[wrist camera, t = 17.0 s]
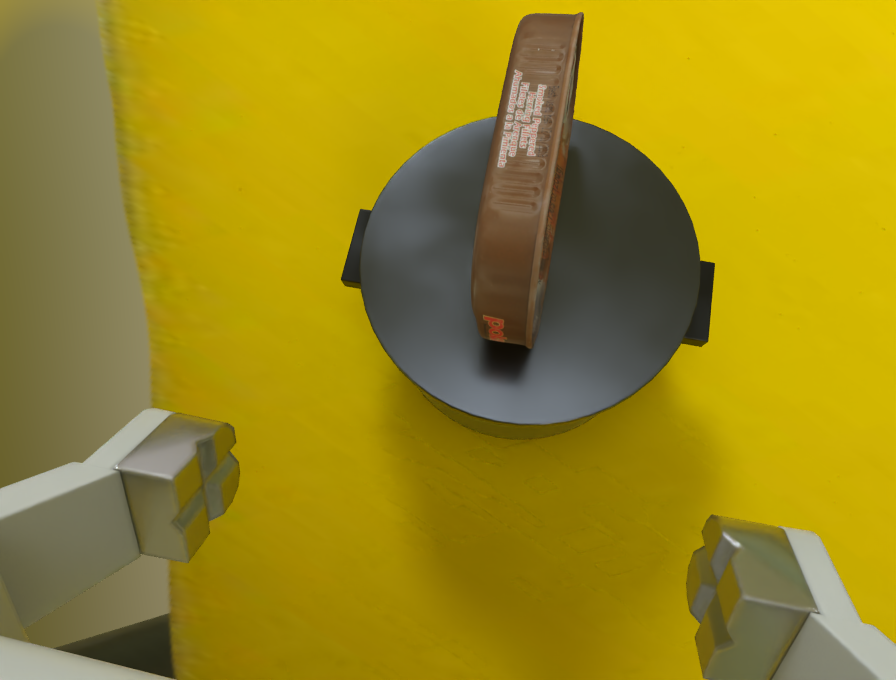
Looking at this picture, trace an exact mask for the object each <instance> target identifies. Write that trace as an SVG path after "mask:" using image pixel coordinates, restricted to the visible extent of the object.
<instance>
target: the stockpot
mask: <svg viewBox="0 0 896 680" xmlns="http://www.w3.org/2000/svg"><path fill="white" fill-rule="evenodd" d="M496 119H497V117H491V118H487V119H483V120H479V121H476V122H472V123H469V124H467V125H464V126H462V127H459V128H456V129H454V130H452V131H450V132H448V133H446V134H444V135H442V136H440V137H438V138H437V139H435V140H433V141H432V142H430V143H429V144H428V145H426V146H425V147H423V148H422V149H420V150H419V151H418V152H416V153H415V154H414V155H413V156H412V157H411V158H410V159H409V160H407V161H406V162H405V163H404V164H403V165H402V166H401V167H400V169H399V170H398V171H397V172H396V173H395V174H394V175H393V177H392V178H391V179H390V180H389V182H388V183H387V185H386V186H385V188H384V189H383V191H382V192H381V194H380V195H379V197H378V199H377V201H376V203H375V205H374V207H373V209H372V211H370V210H364V209H360V212H359V215H358V219H357V222H356V226H355V230H354V233H353V237H352V241H351V244H350V248H349V252H348V255H347V259H346V262H345V266H344V270H343V273H342V277H341V280H342V282H343V284H344V285H345V286H347V287H353V288H359V289H361V293H362V297H363V301H364V306H365V310H366V313H367V315H368V318H369V321H370V323H371V326H372V328H373V331H374V333H375V334H376V336H377V338H378V340H379V342H380V343H381V345H382V347H383V349H384V350H385V352H386V353H387V355H388V356H389V357H390V358H391V360H392V361H393V362H394V364H395V365H396V366H397V368H398V369H399V370H400V371H401V372H402V373H403V374H404V375H405V376H406V377H407V378H408V379H409V380H410V381H411V382H412V383H413V384H414V385H415V386H416V387H418V388H419V389H420V391H421V392H422V393H423V395H424V396H425V397H426V398H427V399H428V400H429V401H430V402H431V403H432V404H433V405H434V406H435V407H436V408H437V409H438V410H440V411H441V412H442V413H444V414H445V415H446V416H448V417H449V418H450V419H452V420H454V421H456V422H457V423H459V424H461V425H463V426H464V427H467V428H469V429H472V430H474V431H477V432H479V433H482V434H486V435H490V436H494V437H499V438H507V439H536V438H544V437H549V436H553V435H556V434H560V433H564V432H566V431H568V430H571V429H573V428H576V427H578V426H580V425H582V424H583V423H585V422H587V421H588V420H590V419H592V418H593V417H595V416H596V415H597V414H600V413H602V412H604V411H607V410H609V409H611V408H613V407H615V406H616V405H618V404H620V403H621V402H623V401H625V400H626V399H628V398H630V397H631V396H632V395H634V394H635V393H636V392H637V391H639V390H640V389H641V388H642V387H644V386H645V385H646V384H648V383H649V382H650V381H651V380H652V379H653V378H654V377H655V376H656V375H657V374H658V373H659V372H660V371H661V370H662V369H663V367H664V366H665V365H666V364H667V363H668V362H669V360H670V359H671V357H672V356H673V355H674V353H675V352H676V350H677V349H678V347H679V346H680V344H681V343H682V344H688V345H694V346H699V347H702V346H703V345H704V344H706V343H707V342H708V338H709V326H710V315H711V303H712V292H713V280H714V269H715V263H711V262H705V261H700V255H699V247H698V241H697V238H696V234H695V230H694V227H693V223H692V220H691V218H690V216H689V214H688V211H687V209H686V207H685V204H684V202H683V201H682V199H681V198H680V196H679V194H678V193H677V191H676V189H675V188H674V186H673V185H672V183H671V182H670V181H669V180H668V179H667V177H666V176H665V175H664V174H663V172H662V171H661V170H660V169H659V168H658V167H657V166H656V165H655V164H654V163H653V162H652V161H651V160H650V159H649V158H648V157H647V156H646V155H644V154H643V153H642V152H640V151H639V150H638V149H636V148H635V147H634V146H632V145H631V144H630V143H628V142H626V141H624V140H623V139H621V138H619V137H618V136H616V135H614V134H612V133H610V132H608V131H606V130H603V129H601V128H599V127H596V126H594V125H592V124H588V123H585V122H582V121H578V120H575V119H573V122H572V129H571V136H570V142H569V147H568V157H567V163H566V169H565V176H564V182H563V188H562V194H561V200H560V206H559V212H558V218H557V224H556V230H555V236H554V242H553V248H552V254H551V260H550V266H549V272H548V279H547V284H546V290H545V295H544V301H543V308H542V314H541V319H540V325H539V330H538V333H537V337H536V340H535V343H534V345H533V348H532V349H529V348H527V347H526V346H525V345H520V344H513V343H506V342H499V341H493V340H489V339H485V338H482V337H481V335H480V333H479V331H478V327H477V322H476V318H475V315H474V313H473V309H472V304H471V273H472V259H473V248H474V240H475V232H476V225H477V219H478V212H479V206H480V201H481V196H482V190H483V185H484V180H485V174H486V169H487V164H488V160H489V154H490V148H491V143H492V139H493V134H494V129H495V124H496Z"/></svg>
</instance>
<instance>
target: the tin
mask: <svg viewBox="0 0 896 680" xmlns="http://www.w3.org/2000/svg"><path fill="white" fill-rule="evenodd" d="M583 22H584V14H583V12H580V13H578V14H575V15H571V14H540V13H535V14H529V15H526V16H525V17H523V19H522V20H521V21H520V23H519V25H518V28H517V31H516V34H515V37H514V40H513V45H512V49H511V53H510V58H509V63H508V67H507V71H506V77H505V81H504V85H503V90H502V95H501V100H500V104H499V109H498V114H497V119H496V124H495V129H494V134H493V139H492V143H491V148H490V154H489V160H488V164H487V169H486V174H485V180H484V185H483V190H482V196H481V201H480V206H479V212H478V219H477V225H476V232H475V240H474V248H473V259H472V273H471V304H472V309H473V313H474V315H475V318H476V322H477V327H478V331H479V333H480V335H481V337H482V338H485V339H489V340H493V341H499V342H506V343H513V344H520V345H525V346H526V347H527V348H529V349H532V348H533V345H534V343H535V340H536V337H537V333H538V330H539V325H540V319H541V314H542V308H543V301H544V295H545V290H546V284H547V279H548V272H549V266H550V260H551V254H552V248H553V242H554V236H555V230H556V224H557V218H558V212H559V206H560V200H561V194H562V188H563V182H564V176H565V169H566V163H567V157H568V147H569V142H570V136H571V129H572V122H573V114H574V105H575V98H576V88H577V79H578V68H579V61H580V54H581V43H582V32H583Z"/></svg>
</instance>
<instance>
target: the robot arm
mask: <svg viewBox="0 0 896 680" xmlns="http://www.w3.org/2000/svg"><path fill="white" fill-rule="evenodd" d="M235 444H236V437H235V431H234V427H233V426H231V425H230V424H228V423H224V422H220V421H215V420H210V419H206V418H201V417H196V416H192V415H187V414H182V413H175V412H170V411H166V410H161V409H156V408H149V409H146V410H143V411H142V412H141V413H140V414H139V415H137V416H136V417H135V418H134V419H133V420H132V421H130V422H129V423H128V424H127V425H126V426H125V427H123V428H122V429H121V430H120V431H119V432H118V433H117V434H115V435H114V436H113V437H112V438H111V439H110V440H109V441H107V442H106V443H105V444H104V445H103V446H102V447H100V448H99V449H98V450H97V451H96V452H95V453H94V454H92V456H90V457H89V458H88V459H87V460H86V461H85V462H83V463H77V462H72V463H69V464H66V465H64V466H61V467H58V468H55V469H53V470H50V471H47V472H44V473H42V474H39V475H36V476H33V477H31V478H28V479H26V480H23V481H20V482H17V483H14V484H11V485H9V486H6V487H3V488H0V680H175V679H171V678H167V677H163V676H159V675H155V674H151V673H147V672H143V671H139V670H135V669H131V668H127V667H123V666H119V665H115V664H111V663H107V662H103V661H99V660H95V659H91V658H88V657H84V656H80V655H76V654H72V653H68V652H64V651H60V650H56V649H52V648H48V647H44V646H40V645H36V644H32V643H30V642H29V639H28V637H27V635H26V633H25V630H24V629H25V628H27V627H28V626H30V625H32V624H33V623H35V622H36V621H38V620H40V619H41V618H43V617H44V616H46V615H48V614H49V613H51V612H52V611H54V610H56V609H57V608H59V607H61V606H62V605H64V604H65V603H67V602H69V601H70V600H72V599H73V598H75V597H77V596H78V595H80V594H81V593H83V592H85V591H86V590H88V589H90V588H91V587H93V586H94V585H96V584H97V583H99V582H101V581H102V580H104V579H106V578H107V577H109V576H110V575H112V574H114V573H115V572H117V571H119V570H120V569H122V568H123V567H125V566H126V565H128V564H130V563H131V562H133V561H135V560H136V559H138V558H139V557H140V556H141V555H140V554H144V555H149V556H154V557H159V558H165V559H170V560H175V561H180V562H185V563H189V561H190V560H191V558H192V557H193V556H194V554H195V553H196V552H197V550H198V549H199V548H200V546H201V545H202V543H203V542H204V541H205V539H206V538H207V537H208V535H209V534H210V528H209V521H211V520H213V519H215V518H217V517H219V516H221V515H223V514H224V513H225V512H226V510H227V509H228V507H229V506H230V504H231V503H232V502H233V499H234V496H235V494H236V491H237V488H238V486H239V477H240V469H239V462H238V461H237V459H236V458H235V457H234V456H233V454H232V453H231V452H230V450H231V448H232V447H233V446H234V445H235ZM702 535H703V540H704V544H705V546H703V547H701V548H699V549H698V550H696V551H694V552H693V555H692V558H691V561H690V564H689V567H688V574H687V582H686V588H687V600H688V605H689V611H690V613H691V614H692V615H693V616H694V617H695V618H696V620H697V621H698V622H699V623H700V626H699V629H698V631H697V633H696V636H695V641H696V646H697V650H698V655H699V660H700V665H701V669H702V674H703V678H705V679H709V680H896V644H894V643H893V642H892V641H891V640H890V639H889V638H887V637H886V636H885V635H884V634H883V633H882V632H880V631H879V630H878V629H877V628H876V627H875V626H873V625H868V624H864V623H862V621H861V619H860V617H859V615H858V613H857V611H856V609H855V607H854V605H853V603H852V601H851V599H850V597H849V595H848V593H847V591H846V589H845V587H844V585H843V583H842V581H841V579H840V577H839V575H838V573H837V571H836V569H835V567H834V565H833V563H832V561H831V559H830V557H829V555H828V553H827V551H826V549H825V547H824V545H823V543H822V541H821V539H820V537H819V536H818V535H816V534H815V533H814V532H811V531H805V530H799V529H794V528H788V527H782V526H778V527H776V526H773V525H767V524H762V523H756V522H751V521H745V520H740V519H734V518H729V517H723V516H718V515H711V516H710V517H709V518H708V519H707V520H706V523H705V525H704V528H703V530H702Z"/></svg>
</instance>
